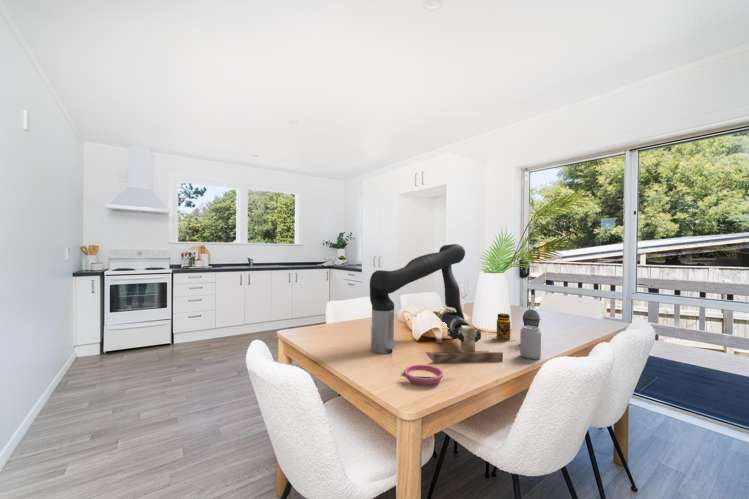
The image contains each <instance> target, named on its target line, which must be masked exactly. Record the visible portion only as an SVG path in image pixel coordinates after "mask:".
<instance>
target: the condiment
mask: <svg viewBox="0 0 749 499" xmlns="http://www.w3.org/2000/svg"><path fill="white" fill-rule="evenodd" d="M510 318H511V317H510V314H509V313H501V312H500V313H497V319H496V336H490V338H491V339H495V340H497V341H500V342H511V341H514V339H513V338H511V320H510Z"/></svg>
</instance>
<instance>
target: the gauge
mask: <svg viewBox="0 0 749 499" xmlns="http://www.w3.org/2000/svg"><path fill="white" fill-rule="evenodd" d="M475 331H476V328H475V327H474V326H473V325H470V326H462V325H461V334H462V335H463V336H464V342H462V341H460V351H461V352H462V353H475V351H476V342H475Z"/></svg>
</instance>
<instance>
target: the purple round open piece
mask: <svg viewBox="0 0 749 499" xmlns="http://www.w3.org/2000/svg"><path fill="white" fill-rule="evenodd" d="M421 370H422V371H423V370H424V371H425V370H426V371H429V372H433V373H436V374H437V375H438V376H415V375H411V374H409V373H410V372H412V371H421ZM403 374H404V376H405V378H406V379H407V380H408V381H409V382H410V383H411V384H413V385H415V386H419V387H431V386H436V385H437V384H438V383H439V382H440V381H441V380H442V379H443V377H444V372H443V370H441V369H440V368H439V367H436V366H433V365H427V364H413V365H409V366H407V367H406V368H405V369H404V372H403Z"/></svg>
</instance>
